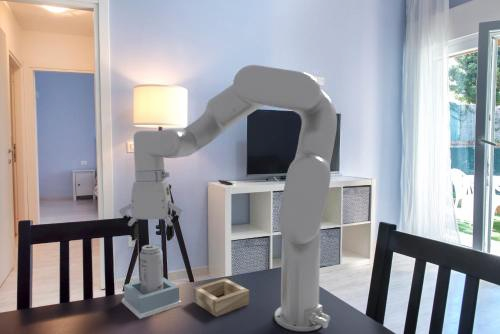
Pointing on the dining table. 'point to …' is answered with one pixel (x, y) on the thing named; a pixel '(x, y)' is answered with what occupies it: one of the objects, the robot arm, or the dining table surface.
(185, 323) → the dining table surface
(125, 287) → the port socket
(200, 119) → the robot arm
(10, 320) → the dining table surface
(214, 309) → the wooden open box
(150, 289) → the energy drink can
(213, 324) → the dining table surface
